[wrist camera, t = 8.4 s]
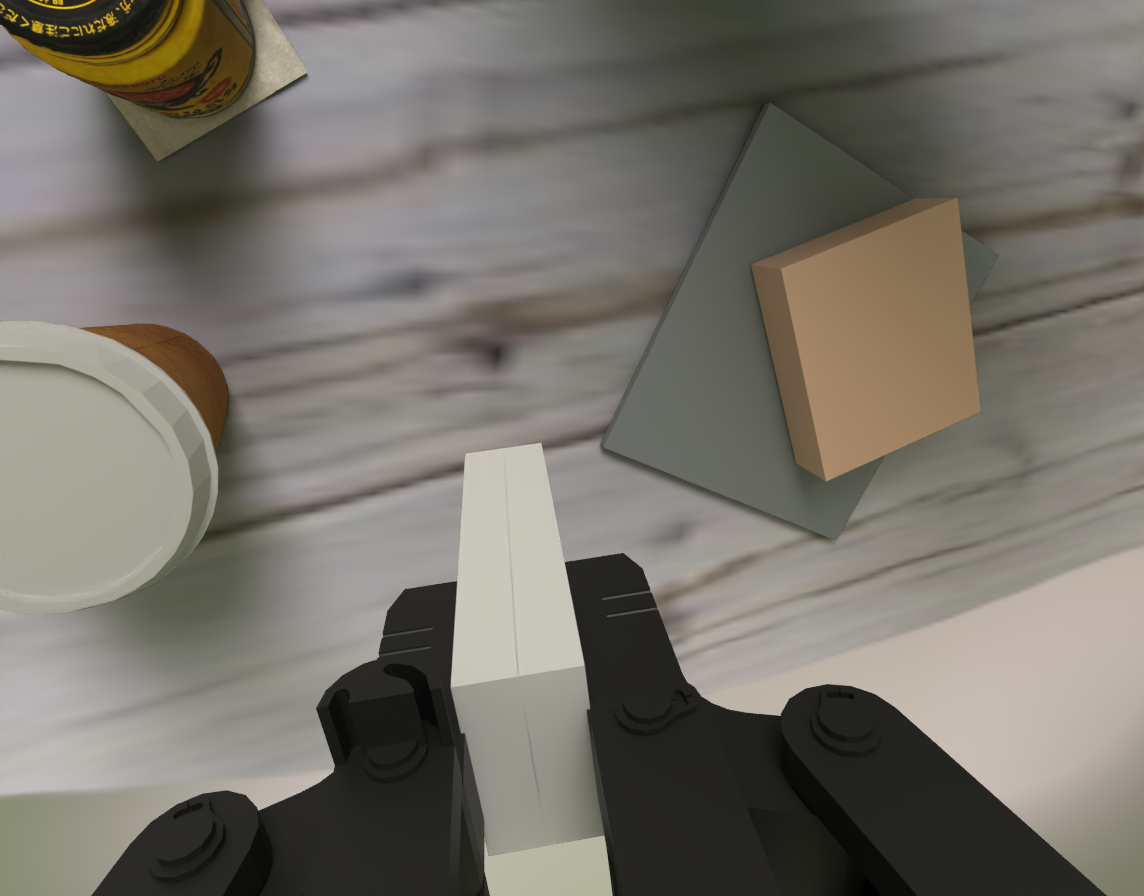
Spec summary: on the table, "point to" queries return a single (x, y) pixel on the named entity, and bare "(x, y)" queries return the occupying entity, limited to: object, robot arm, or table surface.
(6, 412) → the disposable coffee cup
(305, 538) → the table surface
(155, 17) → the condiment
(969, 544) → the table surface
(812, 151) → the mat
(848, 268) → the tile
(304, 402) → the table surface
